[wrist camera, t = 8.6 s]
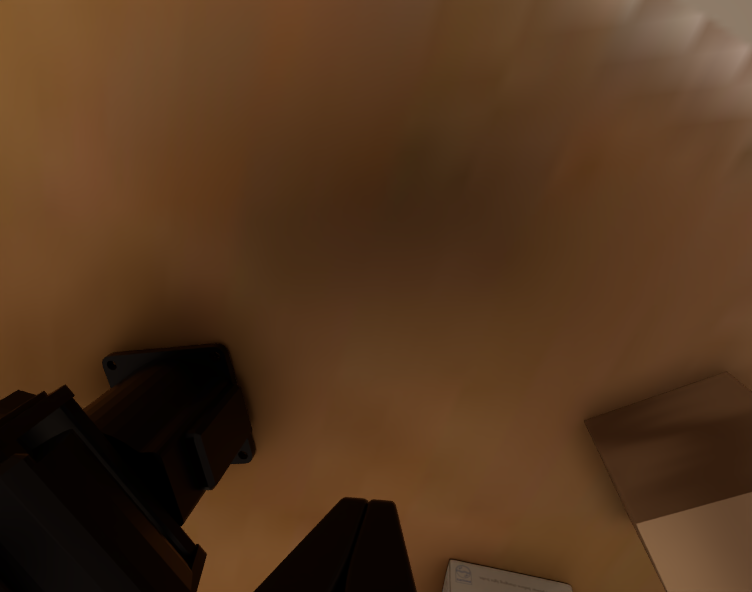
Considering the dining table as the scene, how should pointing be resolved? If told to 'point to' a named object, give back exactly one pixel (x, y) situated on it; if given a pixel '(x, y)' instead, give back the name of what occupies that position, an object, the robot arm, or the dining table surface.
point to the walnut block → (687, 481)
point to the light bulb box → (495, 580)
